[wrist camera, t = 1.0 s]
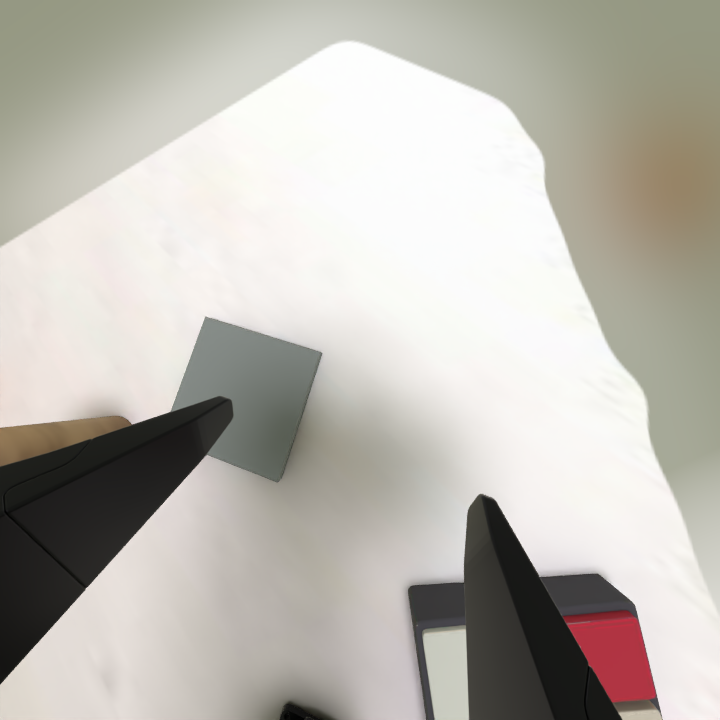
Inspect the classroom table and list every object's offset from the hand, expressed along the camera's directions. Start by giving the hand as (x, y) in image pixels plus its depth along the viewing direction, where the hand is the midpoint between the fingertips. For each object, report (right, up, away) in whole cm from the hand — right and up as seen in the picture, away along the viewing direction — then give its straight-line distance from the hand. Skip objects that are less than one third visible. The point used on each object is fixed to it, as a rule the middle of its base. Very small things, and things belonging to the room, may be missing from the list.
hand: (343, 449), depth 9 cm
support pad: (-10, 0, +16) cm, 19 cm away
